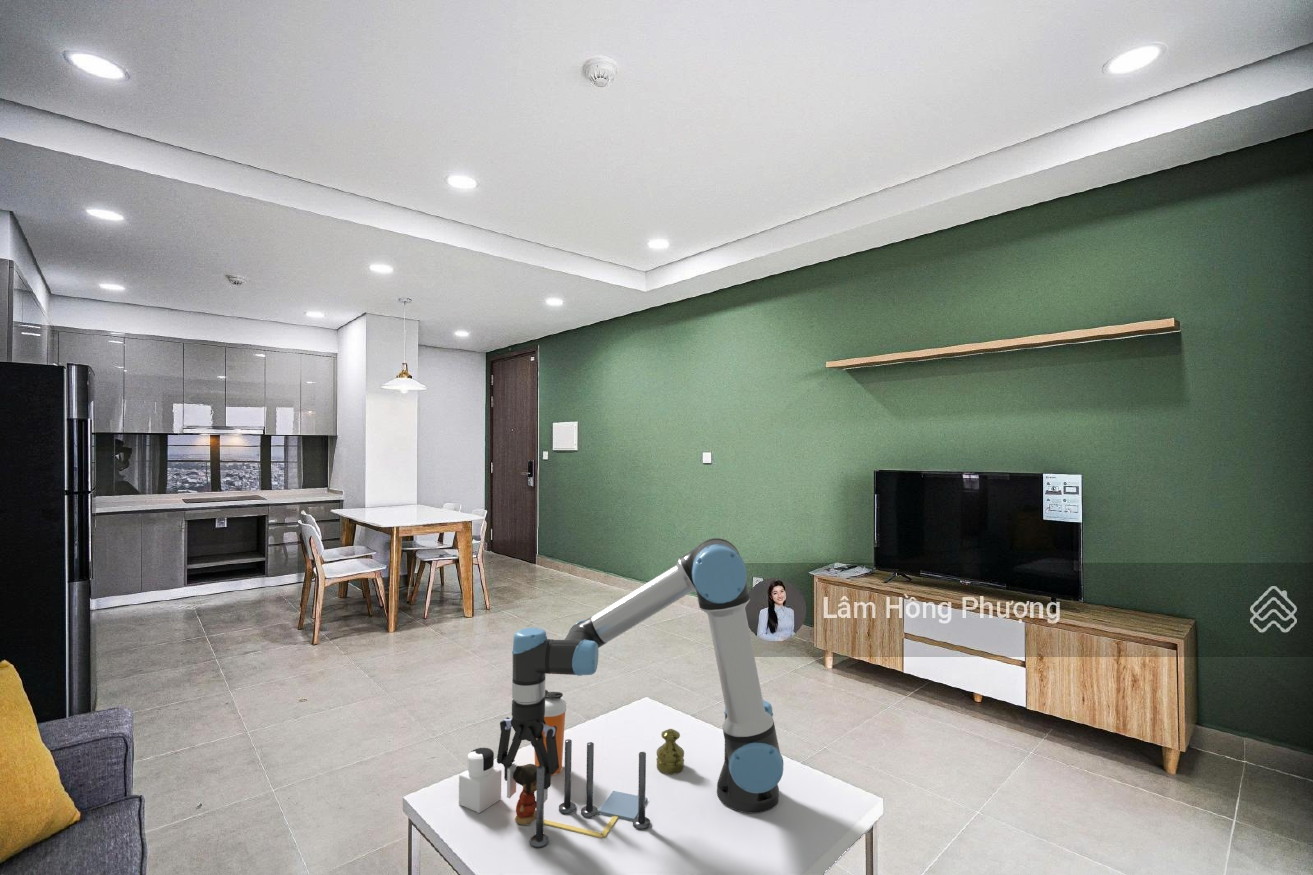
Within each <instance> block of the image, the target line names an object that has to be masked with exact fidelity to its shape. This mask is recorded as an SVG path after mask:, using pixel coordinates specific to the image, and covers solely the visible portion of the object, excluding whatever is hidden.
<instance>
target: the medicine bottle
mask: <svg viewBox="0 0 1313 875" xmlns="http://www.w3.org/2000/svg"><path fill="white" fill-rule="evenodd" d="M494 754H495V753H494V750H492V749H491V748H488V747H478V748H475V749H473V750H471V751H470V752H469V753H468V754H467V770H465V771H464V772H461V773H460V774H459V777H458V781H459V782H458V804H459V805H460V806H463V807H465V808H466V809H468V810H471V811H473V812H476V813H478V814H481V812H484V811H485V810H486V809H488V808H490V807H491V806H493V805H494V804H495V803H497V802H499V801H500V800H501V799H502V769H499V768H497V767H494V766H495V765H494V762H495V761H494V760H495V758H494V756H495V755H494Z"/></svg>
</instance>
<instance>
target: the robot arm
mask: <svg viewBox="0 0 1313 875" xmlns="http://www.w3.org/2000/svg"><path fill="white" fill-rule="evenodd" d="M747 576H748V574H747V568H746V564H745V561H744V560H743V558H742V556H741V554H740V553H739V551H738V548H736V546H735V545H734V544H733V543H731V541H729V540H727V539H724V538H719V537H714V538H709V539H706V540H704V541H702V542H701V543H699V544H698V545H697V546H696V547H694V548H693V549H691V550H690V551H689V552H687V553H685V554H683V556H681V557H679V558H678V560H677V563H676V564H675V565H674V566H672V567H671V568H669V569H667V570H665V571H664V572H662V573H660V574H659V575H657V576H656V577H653V578H652V579H651V580H649V581H648V582H646V583H644V584H643V585H641V586H638V587H637V588H636V589H634V590H633V591H631V592H629V593H628V594H626V595H624V596H623V597H621V598H619V599H618V600H616V601H614V602H613V603H611V604H609V605H608V606H606V607H605V608H603V609H601V610H599V611H598V612H596V613H595V614H593V615H592V616H590V617H589V618H587V619H581V620H579V621H578V622H576V623H575V624H574V625H572V626H571V627H570V629H569V631H568V633H567V635H566V636H565V638H563V639H550V638H548V636H547V632H546V631H545V630H544V629H543V628H538V627H525V628H523V629H519V630H517V631H516V632H515V634H514V635H513V641H512V642H513V643H512V651H511V654H512V680H511V682H512V683H511V698H512V700H511V718H510V717H508V716H507V717H505V718H504V719H503V720H502V721H500V722H499V728H500V737H499V743H498V750H497V756H496V763H497V764H501V765H503V767H504V772H503V774H504V776H503V777H504V781H505V782H506V798H507V799H511V797H512V796H514V794H516V792H517V783H516V782H515V780H514V779H513V774H514V772H515V770H516V767H517V766H518V765H517V763H514V762H515V761H516V760H515V758H516V756H517V753H518V752H519V749H520V746H521V744H522V741H527V742H530V744H531V746H532V748H533V749H535V753H536V756H537V759H538V762H539V765H540V766H544V803H545V802H546V801H547V800H548V795H549V794H548V789H549V788H550V787H551V784H552V776H554V775H553V774H554V773H555V772H556V771H557V770H558V769H559V761H558V752H557V744H556V732H557V727H556V726H553V727H551V726H548V725H546V722H545V720H544V715H545V698H544V696H545V689H546V674H547V675H551V674H552V675H569V676H579V677H582V676H591V675H594V674H595V673H596V672H597V669H598V665H599V649H600V648H601V647H602V646H604V645H606V644H607V643H609V642H610V641H612V640H614V639H615V638H617V637H619V636H621V635H622V634H623V633H625V632H627V631H628V630H630V629H632V628H634V627H636V626H637V625H639V624H641V623H642V622H644V621H645V620H647V619H649V618H651V617H652V616H654V615H656V614H657V613H659V612H660V611H663V609H666V608H668V607H669V606H671V605H672V604H674V603H676V602H678V601H679V600H680V599H683V598H684V597H686V596H687V595H690V594H691V593H692V592H693V593H696V597H697V602H698V607H699V610H701V611H703V613H706V615H707V618H708V624H709V629H710V634H711V638H712V645H713V650H714V654H715V659H716V665H717V670H718V674H719V675H718V676H719V682H720V685H721V691H722V696H723V702H724V712H723V713H724V721H723V723H722V732H723V737H724V759H723V760H724V762H723V764H722V768H721V771H720V773H719V776H718V779H717V783H716V795H717V798H718V799H719V801H720V802H721V803H722V804H723V805H725V806H726V807H728V809H729V808H730V809H732V810H735V811H737V812H741V813H742V812H743V813H749V814H750V813H751V814H757V813H763V812H767V811H771V810H773V809H774V808H775V807H776V806H777V805H778V803H779V801H780V789H779V788H780V787H779V782H780V781H781V780H782V777H783V774H784V758H783V756H782V754H781V750H780V745H779V742H778V736H777V732H776V731H777V730H776V725H775V721H774V717H773V716H774V713H773V712H774V711H773V707H772V704H771V703H770V702H768V701H767V700H765V699H763V695H762V688H761V684H760V679H759V673H758V669H757V662H756V659H755V652H754V649H753V648H754V647H753V643H752V638H751V632H750V627H749V622H748V617H747V611H746V607H747V605H748V604H749V602H750V601H751V597H750V591H749V587H748V586H749V585H748V581H747V579H748V578H747ZM512 729H513V731H514V734H513V737H512V741H511V744H510V740H511V732H512ZM543 731H544V732H545V737H546V747H547V751H546V748H545V745H544V741H543V740H544V737H543V734H542V732H543ZM536 739H537V740H536ZM535 753H534V754H535ZM551 774H552V775H551Z"/></svg>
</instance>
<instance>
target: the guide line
mask: <svg viewBox="0 0 1313 875" xmlns="http://www.w3.org/2000/svg"><path fill="white" fill-rule="evenodd" d="M618 819H619V818H618V816H613V817H612V816H611V818H610V820H609V821H608V823H607V824H606V826H605V827H604V829H603V830H602V831H601V832H599V831H594V830H591V829H586V828H582V827H577V826H573V825H571V824H570V825H569V824H564V823H561V822H557V821H551V820H547V819H544V825H545V826H550V827H554V828H557V829H562V830H565V831H569V832H574V833H578V834H583V835H587V836H591V837H595V838H598V839H599V838H600V839H602V838H606V837H607V835H608V834H609V833H610V831H611V830H612V828H613V826H615V823H616V822H617V821H618ZM544 825H543V826H544Z"/></svg>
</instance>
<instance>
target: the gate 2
mask: <svg viewBox="0 0 1313 875" xmlns="http://www.w3.org/2000/svg"><path fill="white" fill-rule="evenodd" d="M594 749H595V744H594V742H593V741H592V742H591V741H590V742H587V743H586V784H585V785H586V791H585V792H586V796H585V806H582V808H581V809H580V815H581V817H583V818H586V819H591V818H595V817H597V815H598V814H599V813H598V810H599V808H598V807H597V806H595V805H594V764H595V763H594V762H595V761H594V755H595V754H594V753H595V752H594V751H595V750H594ZM646 763H647V753H646V752H645V751H640V752H638V792H637V793H638V795H637V796H638V816H637V818H635V819H634V820H633V821H632V827H633V828H634V829H635V830H639V831H645V830H647V829H649V828H650V827H651V820H650V818H648V817H647V816H646V803H645V797H646V791H647V790H646V779H647V778H646V777H647V776H646V774H647V770H646V768H647V764H646Z"/></svg>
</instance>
